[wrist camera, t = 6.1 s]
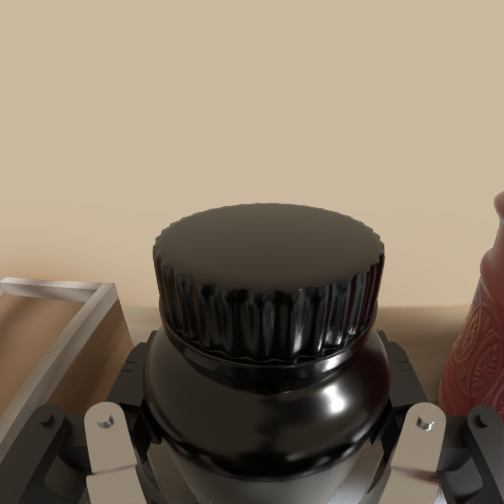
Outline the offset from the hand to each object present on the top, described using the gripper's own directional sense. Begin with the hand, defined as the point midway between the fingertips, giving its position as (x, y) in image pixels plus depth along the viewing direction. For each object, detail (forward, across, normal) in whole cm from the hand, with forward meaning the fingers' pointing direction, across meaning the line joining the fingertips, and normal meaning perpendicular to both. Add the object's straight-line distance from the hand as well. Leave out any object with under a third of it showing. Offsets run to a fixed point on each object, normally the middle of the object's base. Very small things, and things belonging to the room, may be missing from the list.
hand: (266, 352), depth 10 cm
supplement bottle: (-2, 0, +7) cm, 7 cm away
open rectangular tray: (-2, +15, +6) cm, 17 cm away
